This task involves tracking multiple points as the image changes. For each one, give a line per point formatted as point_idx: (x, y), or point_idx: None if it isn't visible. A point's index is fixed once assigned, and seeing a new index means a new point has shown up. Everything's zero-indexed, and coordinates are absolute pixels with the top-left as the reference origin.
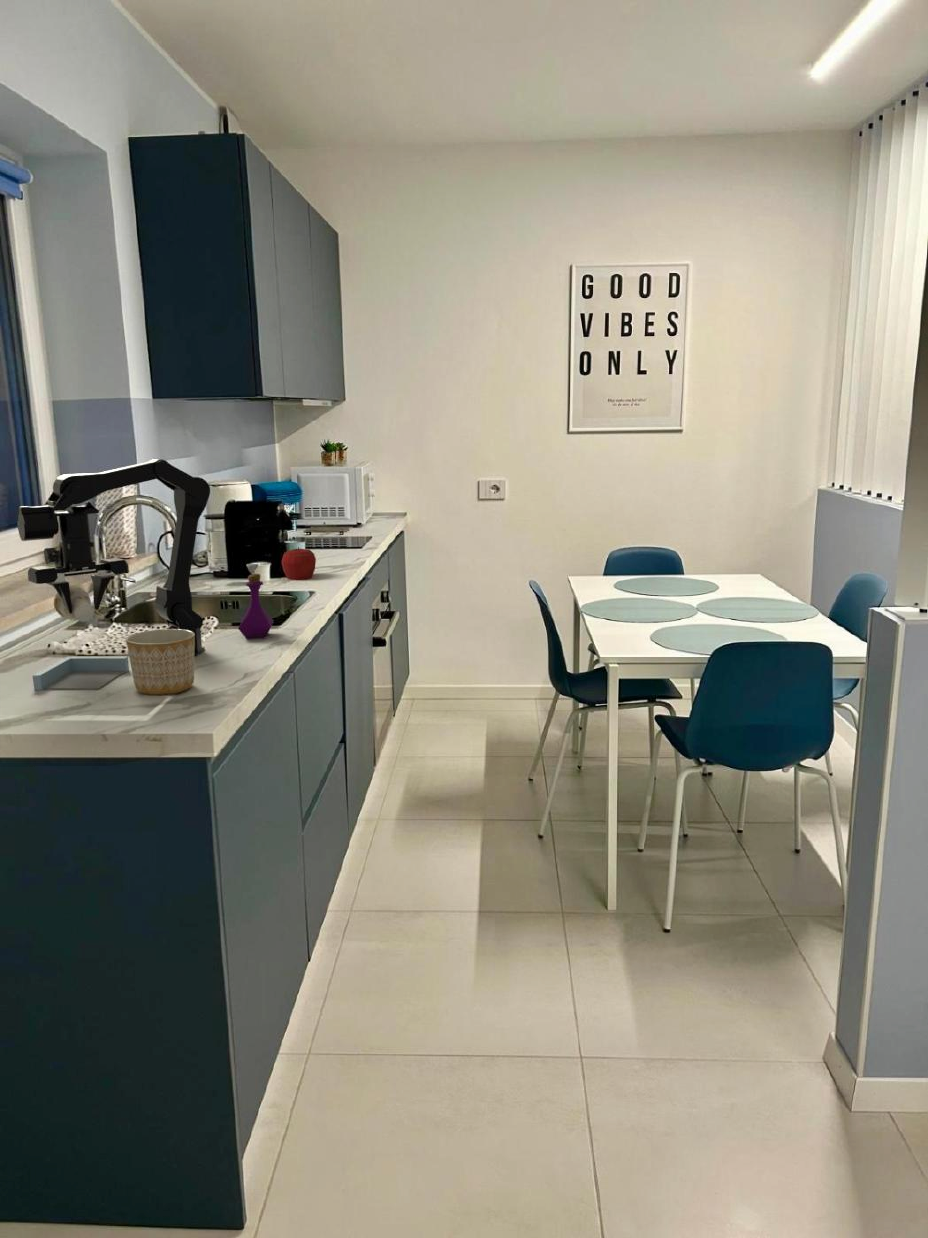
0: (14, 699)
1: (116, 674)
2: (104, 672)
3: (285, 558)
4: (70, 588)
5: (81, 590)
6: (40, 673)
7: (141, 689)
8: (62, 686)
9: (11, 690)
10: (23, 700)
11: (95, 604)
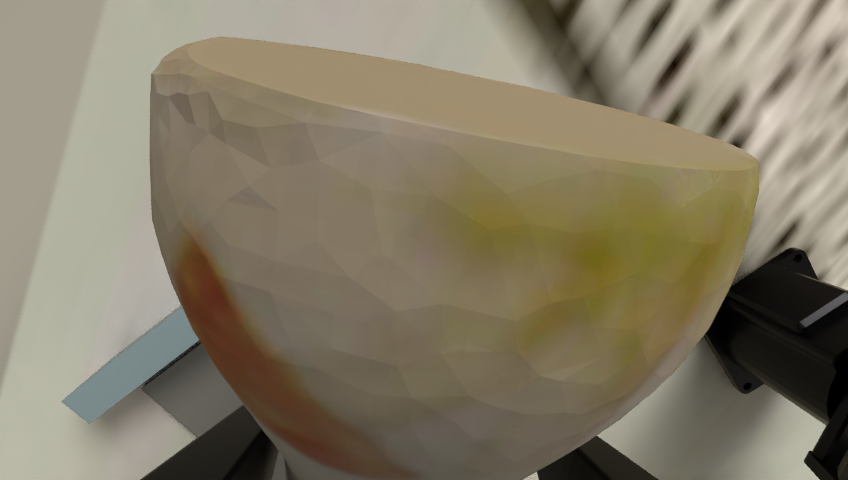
0: (9, 417)
1: None
2: None
3: None
4: (416, 392)
5: (599, 431)
6: (100, 398)
7: None
8: (199, 413)
9: (30, 297)
10: (34, 449)
11: (554, 476)
